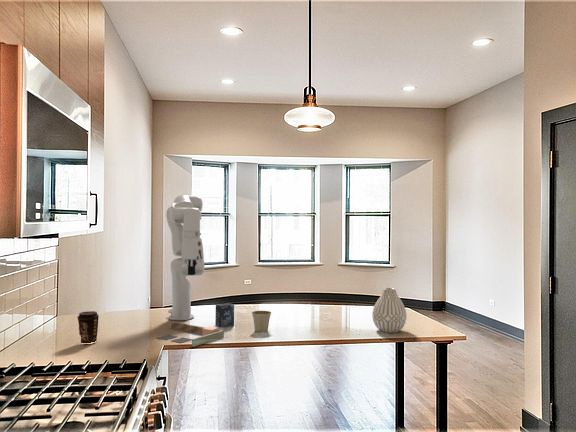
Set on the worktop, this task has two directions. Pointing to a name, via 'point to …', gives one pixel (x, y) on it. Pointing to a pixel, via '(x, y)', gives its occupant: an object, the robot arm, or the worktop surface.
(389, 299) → the vase
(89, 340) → the coffee cup
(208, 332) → the block
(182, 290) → the robot arm
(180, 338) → the mats
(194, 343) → the shallow rectangular tray
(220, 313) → the box
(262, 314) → the flower pot
